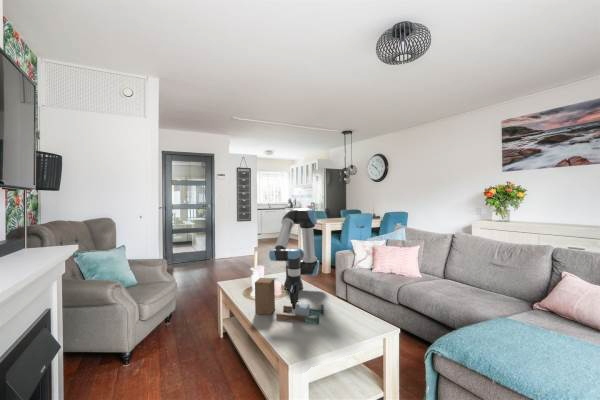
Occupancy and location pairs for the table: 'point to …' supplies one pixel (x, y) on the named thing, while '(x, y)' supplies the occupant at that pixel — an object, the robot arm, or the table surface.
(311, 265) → the robot arm
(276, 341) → the table surface
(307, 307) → the slate block
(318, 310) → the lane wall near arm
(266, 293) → the wooden block
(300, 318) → the lane wall camera side
